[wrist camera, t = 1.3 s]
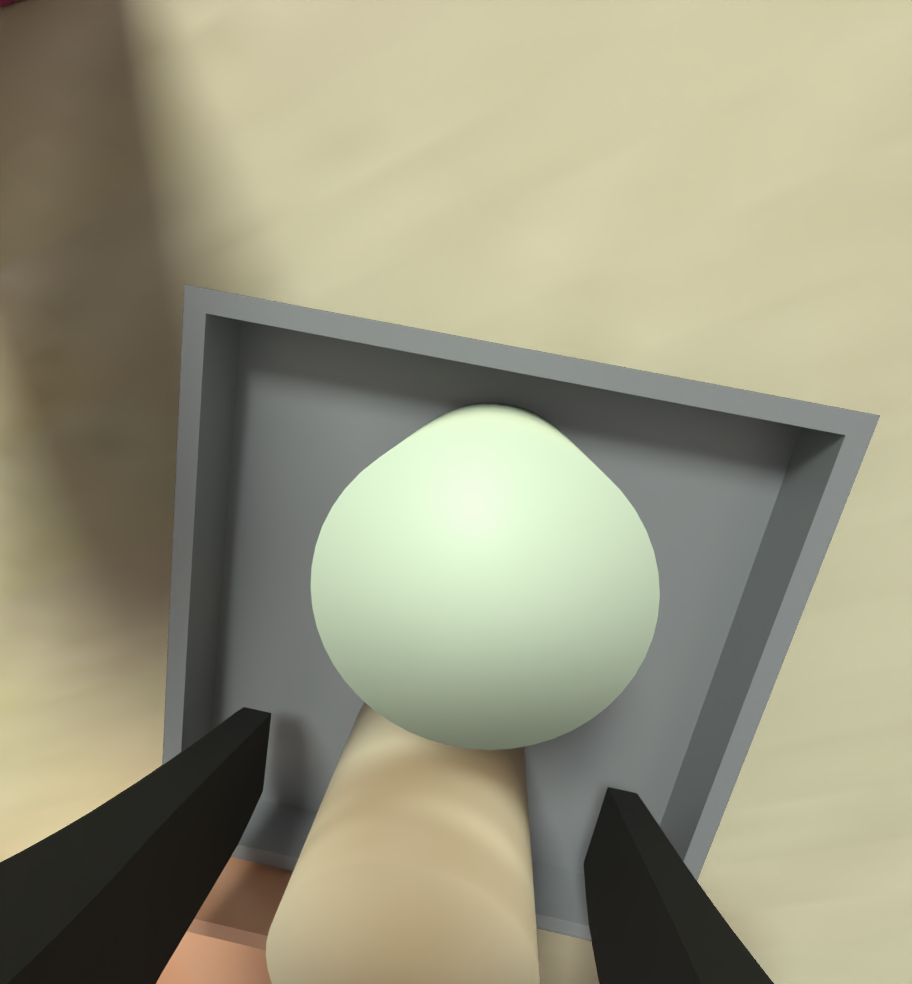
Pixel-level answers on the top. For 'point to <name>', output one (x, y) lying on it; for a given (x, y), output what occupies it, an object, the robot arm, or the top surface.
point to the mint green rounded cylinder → (485, 582)
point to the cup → (6, 2)
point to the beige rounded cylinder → (412, 869)
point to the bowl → (230, 928)
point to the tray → (595, 432)
